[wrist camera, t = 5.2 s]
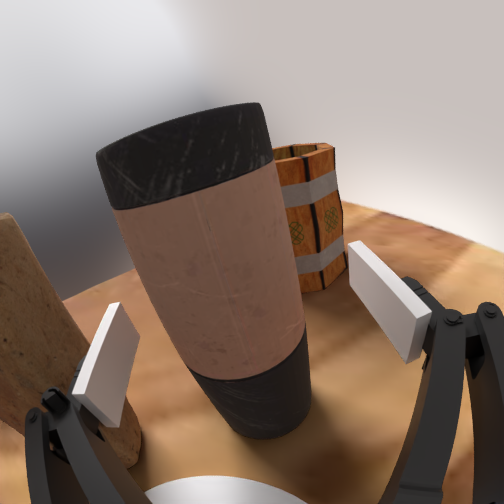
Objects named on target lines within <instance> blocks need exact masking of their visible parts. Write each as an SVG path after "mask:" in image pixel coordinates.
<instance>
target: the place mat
mask: <svg viewBox="0 0 504 504" xmlns="http://www.w3.org/2000/svg"><path fill="white" fill-rule="evenodd" d="M144 493H145V495H146V496H147V497H148V498H149V500H150V501H151V502H152V503H153V504H307V503H306V502H304V501H302V500H301V499H299V498H297V497H296V496H294V495H292V494H290V493H288V492H285V491H283V490H281V489H279V488H276V487H273V486H270V485H268V484H265V483H261V482H257V481H253V480H249V479H243V478H238V477H228V476H197V477H189V478H183V479H178V480H174V481H170V482H166V483H164V484H161V485H158V486H156V487H154V488H152V489H150V490H147V491H145V492H144Z"/></svg>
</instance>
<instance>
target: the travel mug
mask: <svg viewBox="0 0 504 504" xmlns="http://www.w3.org/2000/svg"><path fill="white" fill-rule="evenodd" d="M273 156H274V155H273V150H272V146H271V142H270V137H269V133H268V129H267V125H266V121H265V116H264V113H263V110H262V107H261V105H260V104H259V103H242V104H236V105H229V106H223V107H218V108H214V109H209V110H205V111H201V112H197V113H193V114H189V115H185V116H183V117H178V118H175V119H172V120H169V121H166V122H163V123H160V124H157V125H154V126H151V127H149V128H146V129H143V130H141V131H138V132H136V133H133V134H131V135H128V136H126V137H124V138H122V139H119V140H117V141H116V142H113V143H111V144H109V145H107V146H106V147H104V148H102V149H101V150H99V151H98V152H97V153H96V160H97V165H98V168H99V171H100V174H101V178H102V181H103V184H104V187H105V190H106V193H107V196H108V199H109V202H110V204H111V206H112V210H113V213H114V215H115V218H116V221H117V224H118V226H119V229H120V231H121V234H122V236H123V239H124V241H125V244H126V246H127V249H128V251H129V254H130V256H131V258H132V261H133V263H134V265H135V268H136V270H137V272H138V274H139V276H140V279H141V281H142V283H143V285H144V287H145V290H146V292H147V294H148V296H149V298H150V300H151V302H152V304H153V306H154V308H155V310H156V312H157V314H158V316H159V318H160V320H161V322H162V324H163V326H164V328H165V330H166V331H167V333H168V335H169V337H170V339H171V341H172V343H173V344H174V346H175V348H176V350H177V351H178V353H179V355H180V357H181V358H182V360H183V361H184V363H185V365H186V366H187V368H188V369H189V371H190V372H191V374H192V375H193V377H194V378H195V379H196V381H197V382H198V384H199V385H200V387H201V388H202V389H203V391H204V392H205V394H206V395H207V396H208V398H209V399H210V401H211V402H212V403H213V405H214V406H215V407H216V409H217V410H218V411H219V413H220V414H221V415H222V416H223V418H224V419H225V420H226V421H227V423H228V424H229V425H230V426H231V427H232V428H233V429H234V430H235V431H237V432H238V433H240V434H242V435H244V436H247V437H250V438H254V439H272V438H276V437H280V436H282V435H285V434H287V433H289V432H290V431H292V430H293V429H295V428H296V427H297V426H298V425H299V424H300V423H301V422H302V421H303V420H304V418H305V417H306V415H307V413H308V411H309V408H310V404H311V381H310V368H309V355H308V344H307V333H306V323H305V316H304V309H303V303H302V297H301V291H300V285H299V280H298V274H297V268H296V263H295V257H294V252H293V246H292V241H291V236H290V231H289V226H288V221H287V216H286V211H285V206H284V201H283V196H282V191H281V187H280V182H279V177H278V173H277V168H276V164H275V159H274V157H273Z"/></svg>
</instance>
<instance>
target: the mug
mask: <svg viewBox="0 0 504 504" xmlns="http://www.w3.org/2000/svg"><path fill="white" fill-rule="evenodd" d="M272 150H273V155H274V156H273V157H274V159H275V164H276V168H277V173H278V177H279V182H280V187H281V191H282V196H283V201H284V206H285V211H286V216H287V221H288V226H289V231H290V236H291V241H292V246H293V252H294V257H295V263H296V268H297V274H298V280H299V285H300V291H301V293H307V292H313V291H319V290H324V289H326V288H327V287H328V286H329V285H330V284H331V283H332V282H333V281H334V280H335V279H336V278H337V277H338V276H339V275H341V274H342V273H343V272H344V271H345V270H346V269H347V268H348V266H347V261H346V256H345V251H344V239H343V210H342V205H341V200H340V195H339V191H338V185H337V177H336V171H335V148H334V147H333V146H331V145H329V144H327V143H310V144H294V145H288V146H282V147H277V148H272Z"/></svg>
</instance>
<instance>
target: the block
mask: <svg viewBox="0 0 504 504" xmlns="http://www.w3.org/2000/svg"><path fill="white" fill-rule="evenodd" d="M90 346H91V345H90V343H89V342H88V341H87V339H86V338H85V336H84V335H83V333H82V332H81V330H80V329H79V327H78V326H77V324H76V323H75V321H74V320H73V318H72V317H71V315H70V314H69V312H68V311H67V309H66V307H65V306H64V304H63V303H62V301H61V299H60V298H59V296H58V295H57V293H56V291H55V290H54V288H53V287H52V285H51V283H50V281H49V280H48V278H47V276H46V274H45V272H44V271H43V269H42V267H41V266H40V264H39V262H38V260H37V259H36V257H35V255H34V253H33V251H32V250H31V247H30V245H29V243H28V241H27V240H26V238H25V236H24V234H23V232H22V230H21V229H20V227H19V226H18V224H17V222H16V221H15V219H14V218H13V216H12V215H10V214H9V213H7V212H5V213H0V419H1V420H2V421H4V422H5V423H6V424H8V425H9V426H11V427H12V428H14V429H16V430H17V431H18V432H19V433H21V434H22V435H23V436H24V437H25V417H26V414H27V412H28V411H29V410H30V409H32V408H33V407H38V408H40V409H41V410H42V411H43V412H44V413H45V412H48V410H47V409H46V408H45V407H43V406H42V405H41V401H40V400H41V397H42V395H43V393H44V392H45V391H46V390H47V389H48V388H50V387H54V386H55V387H58V388H59V389H60V390H61V391H62V392H63V393H64V394H65V396H66V395H67V392H68V389H69V386H70V384H71V381H72V379H73V378H74V374H75V372H76V369H77V366H78V364H79V362H80V361H81V359H82V358H83V357H84V356H86V355H87V353H88V351H89V348H90ZM98 427H100V428H101V430H102V431H103V432H104V434H105V436H106V438H107V439H108V441H109V443H110V444H111V446H112V448H113V449H114V451H115V452H116V454H117V456H118V457H119V459H120V460H121V462H122V463H123V465H124V466H125V468H126V469H127V468H130V467H132V466H133V465H134V464H135V463H136V462H137V461H138V457H139V450H140V446H141V431H140V426H139V422H138V418H137V416H136V414H135V412H134V411H133V409H132V407H131V405H130V403H129V402H128V399H127V397H126V396H125V400H124V405H123V410H122V415H121V420H120V425H119V427H106V426H105V425H104V424H102V423H101V422H99V426H98ZM50 449H51V450H52V451H53V447H52V446H51V445H50Z"/></svg>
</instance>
